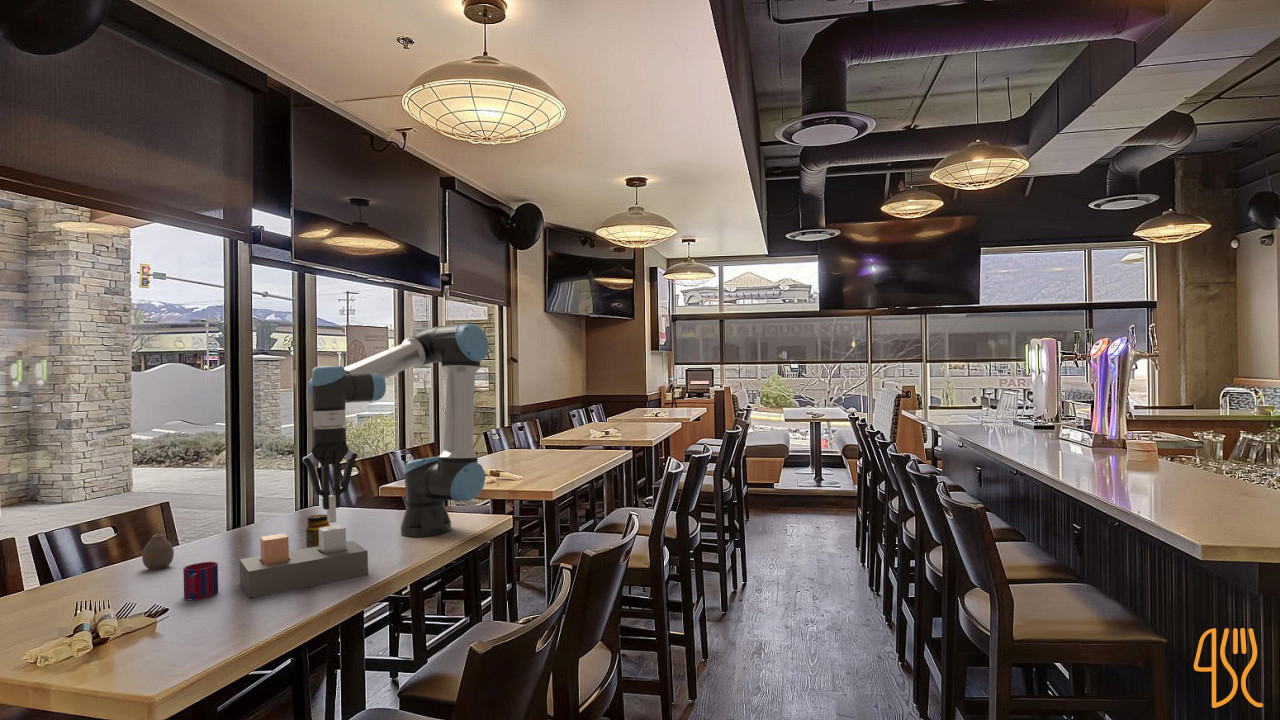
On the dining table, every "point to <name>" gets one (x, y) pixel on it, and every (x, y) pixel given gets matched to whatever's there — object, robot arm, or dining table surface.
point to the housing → (302, 569)
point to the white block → (332, 539)
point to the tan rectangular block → (274, 548)
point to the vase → (158, 553)
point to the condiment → (315, 529)
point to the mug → (200, 580)
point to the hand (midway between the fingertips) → (331, 521)
